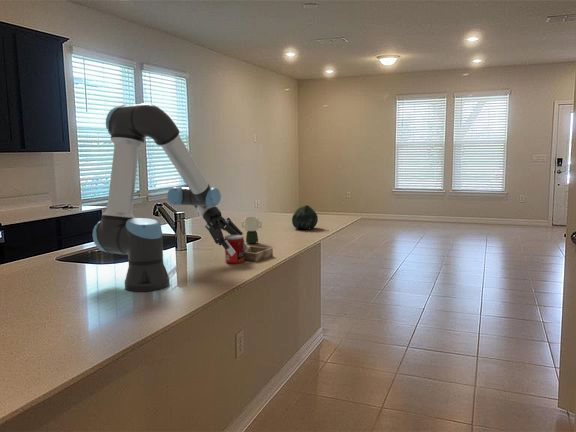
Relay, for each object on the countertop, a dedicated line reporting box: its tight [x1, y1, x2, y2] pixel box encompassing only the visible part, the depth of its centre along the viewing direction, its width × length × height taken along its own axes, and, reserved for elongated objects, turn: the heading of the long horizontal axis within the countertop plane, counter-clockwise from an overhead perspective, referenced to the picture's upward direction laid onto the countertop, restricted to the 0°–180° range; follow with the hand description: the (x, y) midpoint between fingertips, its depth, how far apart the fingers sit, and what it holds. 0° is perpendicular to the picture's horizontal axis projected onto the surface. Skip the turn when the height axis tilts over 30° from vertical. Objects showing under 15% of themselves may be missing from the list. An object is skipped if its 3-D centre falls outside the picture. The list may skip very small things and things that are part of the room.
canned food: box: [224, 234, 245, 265], centre depth 208 cm, size 8×8×11 cm
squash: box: [291, 204, 319, 230], centre depth 291 cm, size 14×15×15 cm
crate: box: [244, 245, 274, 263], centre depth 216 cm, size 12×12×4 cm
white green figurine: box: [240, 216, 263, 244], centre depth 249 cm, size 11×7×13 cm, turn 73°
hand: (240, 251), depth 206 cm, fingers open, 8 cm apart
